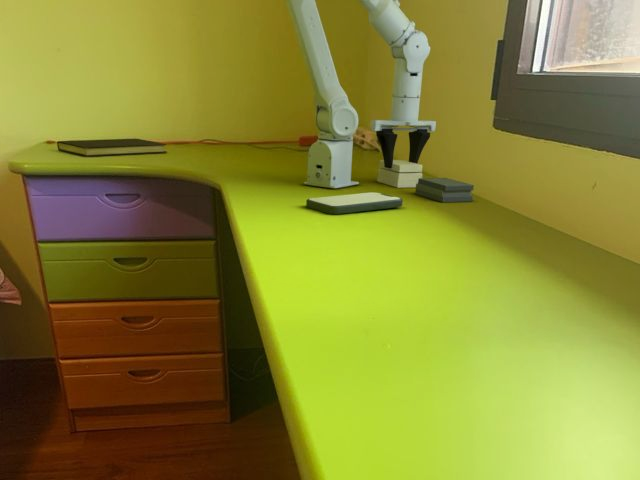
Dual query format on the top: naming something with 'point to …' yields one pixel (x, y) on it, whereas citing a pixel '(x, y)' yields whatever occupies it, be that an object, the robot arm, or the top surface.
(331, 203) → the phone case
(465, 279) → the top surface
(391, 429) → the top surface
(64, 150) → the hardcover book
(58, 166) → the top surface
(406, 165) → the cream booklet
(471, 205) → the top surface
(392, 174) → the cream rectangular block
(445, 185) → the grey book stack
